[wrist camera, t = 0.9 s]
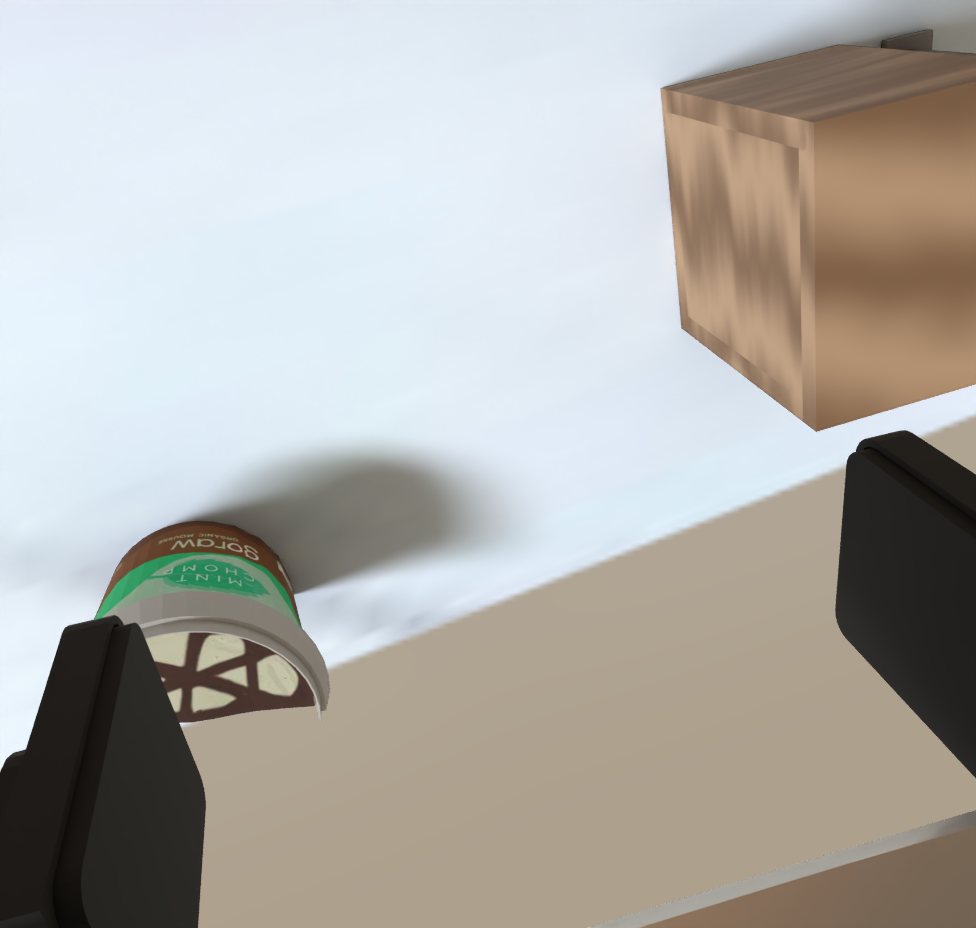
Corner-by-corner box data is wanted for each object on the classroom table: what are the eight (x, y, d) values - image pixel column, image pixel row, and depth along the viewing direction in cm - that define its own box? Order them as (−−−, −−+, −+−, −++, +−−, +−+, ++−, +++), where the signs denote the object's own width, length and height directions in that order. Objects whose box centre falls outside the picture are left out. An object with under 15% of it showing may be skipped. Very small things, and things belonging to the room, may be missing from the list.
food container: (319, 496, 47) (335, 610, 38) (318, 594, 49) (333, 720, 41) (64, 505, 44) (19, 630, 35) (78, 608, 46) (39, 747, 38)
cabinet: (660, 88, 41) (814, 122, 30) (927, 22, 43) (1168, 31, 31) (681, 328, 47) (816, 431, 36) (915, 263, 49) (1114, 343, 37)
